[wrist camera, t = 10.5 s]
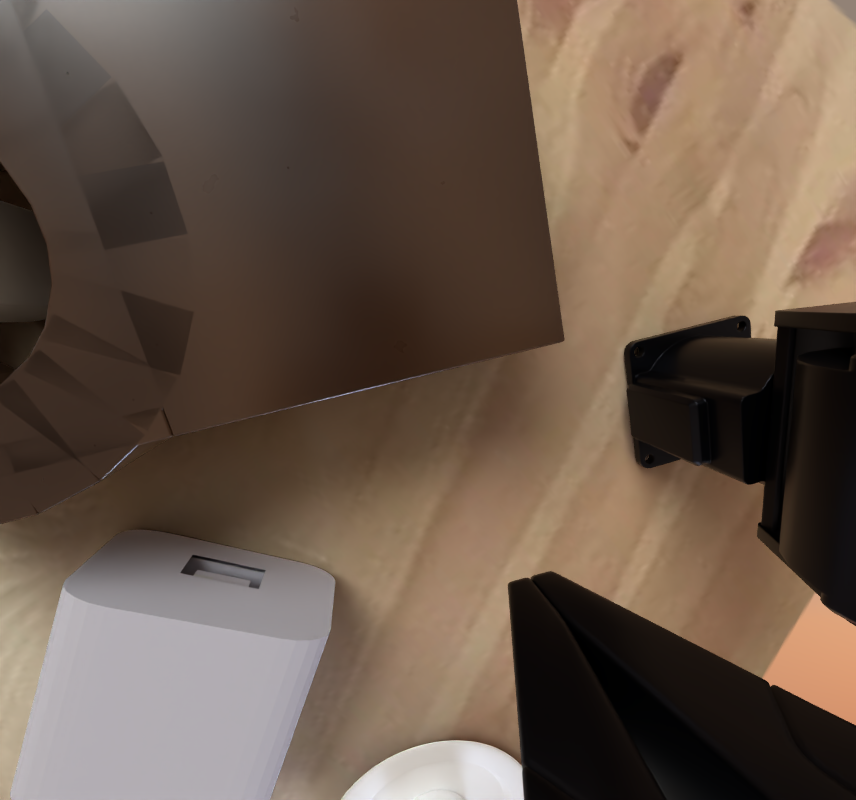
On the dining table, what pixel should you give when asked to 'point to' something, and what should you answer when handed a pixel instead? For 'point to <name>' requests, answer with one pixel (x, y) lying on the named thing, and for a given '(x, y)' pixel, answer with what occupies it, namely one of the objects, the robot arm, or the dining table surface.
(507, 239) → the wooden desk organizer
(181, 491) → the dining table surface
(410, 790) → the candle holder
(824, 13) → the dining table surface
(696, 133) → the dining table surface
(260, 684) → the charger
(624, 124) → the dining table surface
